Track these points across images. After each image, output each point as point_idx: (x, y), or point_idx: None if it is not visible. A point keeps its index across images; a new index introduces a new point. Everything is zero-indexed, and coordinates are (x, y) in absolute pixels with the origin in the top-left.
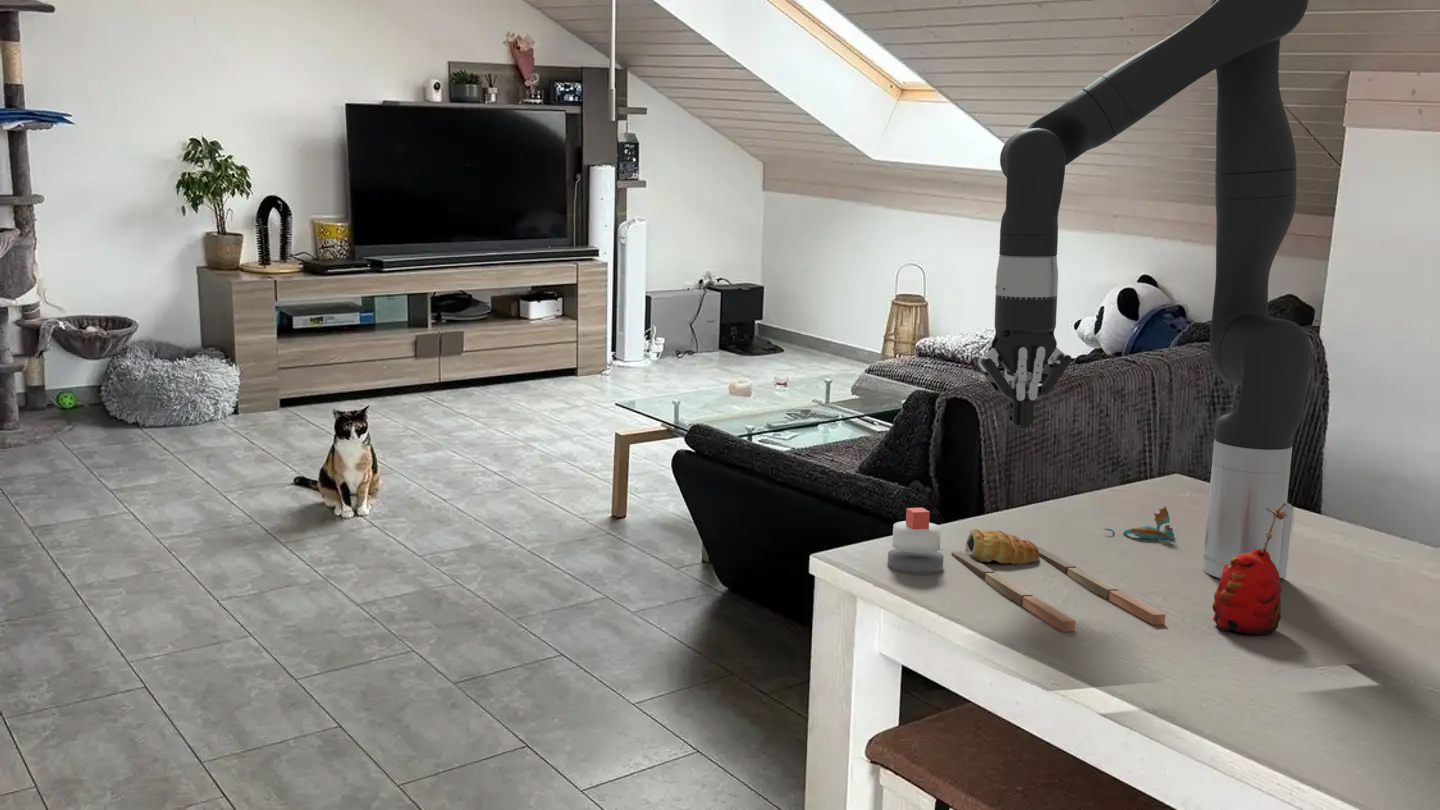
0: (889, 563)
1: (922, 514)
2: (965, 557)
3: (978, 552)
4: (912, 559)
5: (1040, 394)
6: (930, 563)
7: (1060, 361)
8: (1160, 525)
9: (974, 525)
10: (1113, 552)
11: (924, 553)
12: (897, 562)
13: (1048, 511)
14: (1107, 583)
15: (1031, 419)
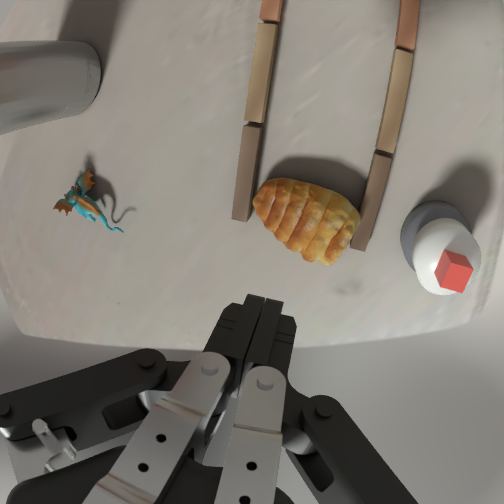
0: None
1: (460, 263)
2: (365, 224)
3: (358, 212)
4: None
5: (168, 363)
6: (447, 208)
7: (31, 423)
8: (71, 203)
9: None
10: (140, 192)
11: None
12: None
13: (131, 331)
14: (255, 46)
15: (230, 313)
